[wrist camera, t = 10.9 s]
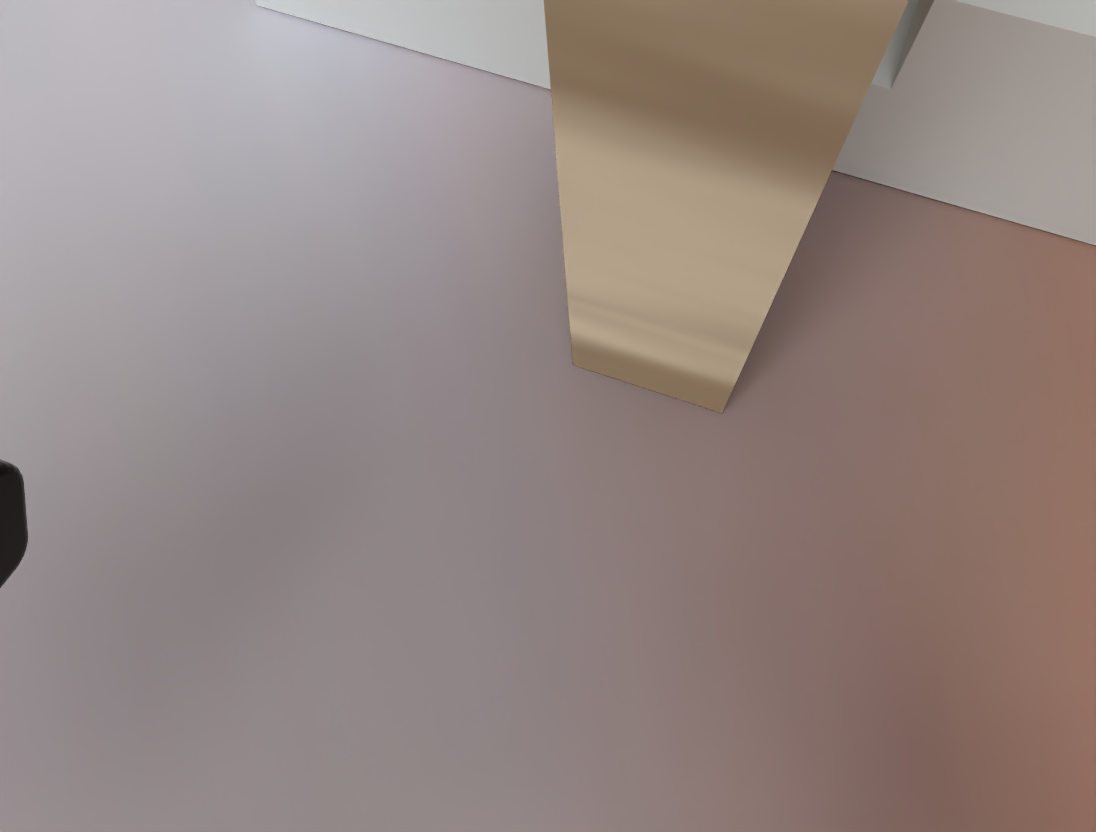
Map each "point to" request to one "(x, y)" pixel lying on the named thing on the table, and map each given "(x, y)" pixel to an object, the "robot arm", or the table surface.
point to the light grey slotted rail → (868, 93)
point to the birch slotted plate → (695, 169)
